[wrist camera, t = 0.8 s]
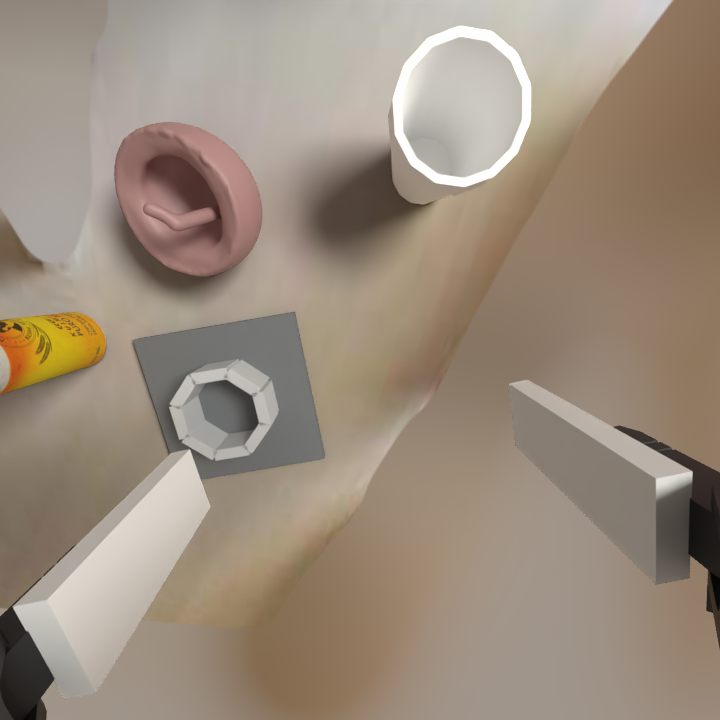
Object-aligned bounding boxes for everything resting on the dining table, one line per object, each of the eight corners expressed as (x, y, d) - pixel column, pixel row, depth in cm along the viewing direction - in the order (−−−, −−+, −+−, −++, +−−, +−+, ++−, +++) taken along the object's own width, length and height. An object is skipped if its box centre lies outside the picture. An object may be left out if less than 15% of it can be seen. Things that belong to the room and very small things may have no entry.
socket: (138, 338, 38) (107, 346, 33) (294, 311, 38) (286, 316, 33) (183, 478, 42) (161, 504, 37) (324, 454, 42) (321, 477, 37)
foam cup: (417, 238, 37) (454, 216, 24) (358, 171, 35) (363, 109, 22) (484, 172, 35) (559, 111, 23) (425, 99, 34) (471, -12, 21)
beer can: (113, 319, 38) (-37, 342, 23) (109, 370, 39) (-36, 423, 24) (56, 306, 37) (-135, 321, 22) (53, 358, 38) (-128, 405, 24)
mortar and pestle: (138, 230, 36) (42, 207, 24) (195, 128, 34) (119, 52, 22) (236, 298, 37) (189, 305, 26) (296, 205, 36) (272, 170, 24)
